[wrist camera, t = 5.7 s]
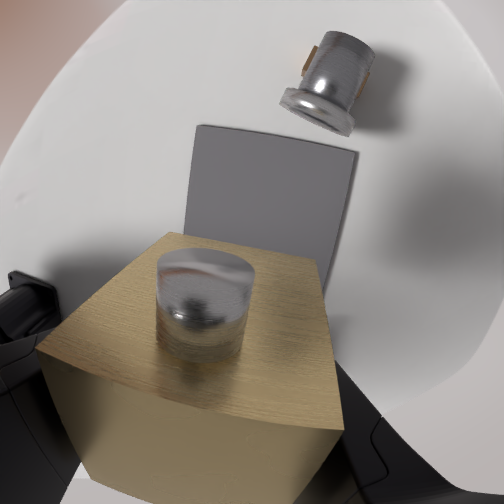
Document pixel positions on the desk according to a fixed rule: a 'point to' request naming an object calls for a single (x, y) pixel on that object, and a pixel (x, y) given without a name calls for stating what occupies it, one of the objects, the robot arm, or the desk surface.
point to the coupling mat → (267, 193)
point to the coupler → (199, 375)
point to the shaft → (331, 82)
